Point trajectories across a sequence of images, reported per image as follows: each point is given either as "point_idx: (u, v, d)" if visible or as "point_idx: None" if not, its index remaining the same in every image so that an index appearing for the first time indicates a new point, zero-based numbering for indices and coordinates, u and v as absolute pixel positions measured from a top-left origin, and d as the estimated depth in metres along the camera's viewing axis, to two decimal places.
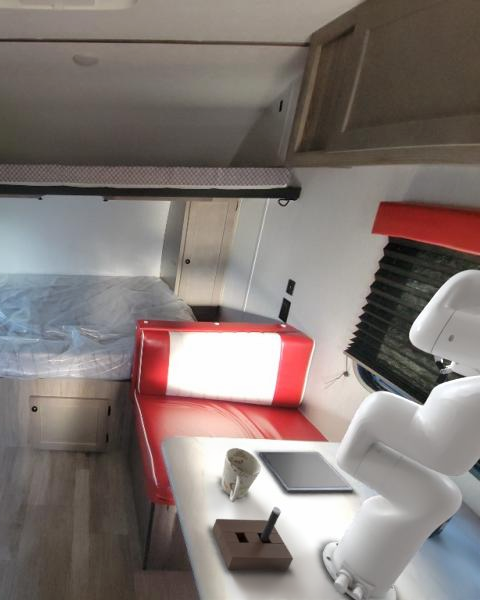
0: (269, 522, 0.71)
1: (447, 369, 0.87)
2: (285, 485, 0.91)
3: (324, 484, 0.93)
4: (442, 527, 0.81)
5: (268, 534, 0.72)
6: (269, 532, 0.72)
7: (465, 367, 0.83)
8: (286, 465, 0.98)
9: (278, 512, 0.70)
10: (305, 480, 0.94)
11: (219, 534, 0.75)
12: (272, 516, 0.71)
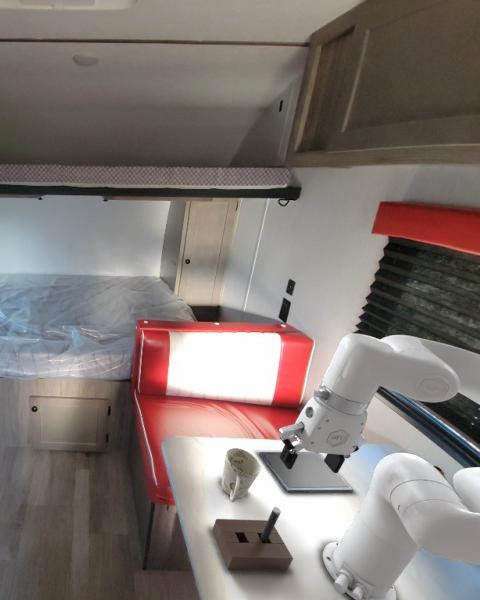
0: (269, 522, 0.71)
1: (297, 447, 0.65)
2: (285, 485, 0.91)
3: (324, 484, 0.93)
4: None
5: (268, 534, 0.72)
6: (269, 532, 0.72)
7: (320, 444, 0.63)
8: None
9: (278, 512, 0.70)
10: (305, 480, 0.94)
11: (219, 534, 0.75)
12: (272, 516, 0.71)
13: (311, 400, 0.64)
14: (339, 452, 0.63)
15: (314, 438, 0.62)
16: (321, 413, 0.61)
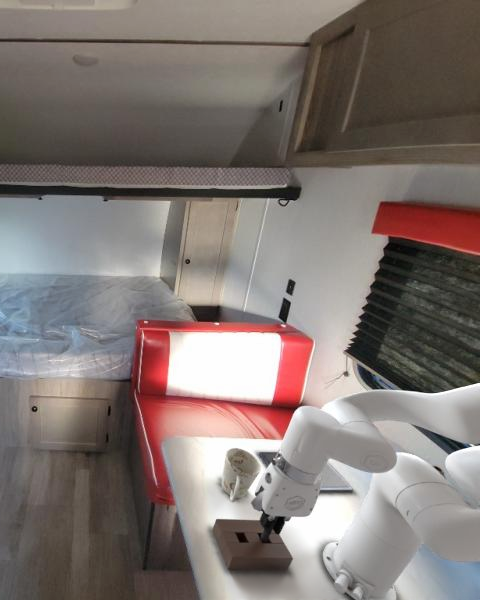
0: None
1: (271, 515, 0.69)
2: None
3: (324, 484, 0.93)
4: None
5: (268, 534, 0.72)
6: None
7: (279, 509, 0.66)
8: None
9: None
10: None
11: (219, 534, 0.75)
12: None
13: (270, 466, 0.67)
14: (297, 515, 0.67)
15: (273, 504, 0.66)
16: (278, 482, 0.65)
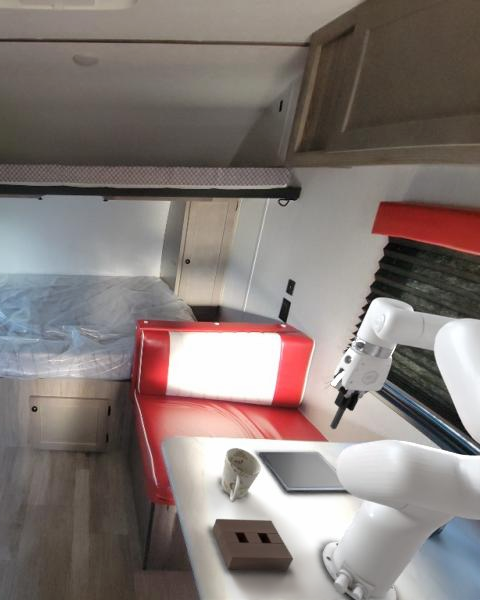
0: None
1: (348, 392, 0.85)
2: (285, 485, 0.91)
3: (324, 484, 0.93)
4: (442, 527, 0.81)
5: (342, 412, 0.89)
6: (343, 410, 0.88)
7: (357, 383, 0.82)
8: (286, 465, 0.98)
9: (352, 391, 0.86)
10: (305, 480, 0.94)
11: (219, 534, 0.75)
12: None
13: (349, 350, 0.83)
14: (371, 389, 0.83)
15: (352, 378, 0.82)
16: (358, 359, 0.81)
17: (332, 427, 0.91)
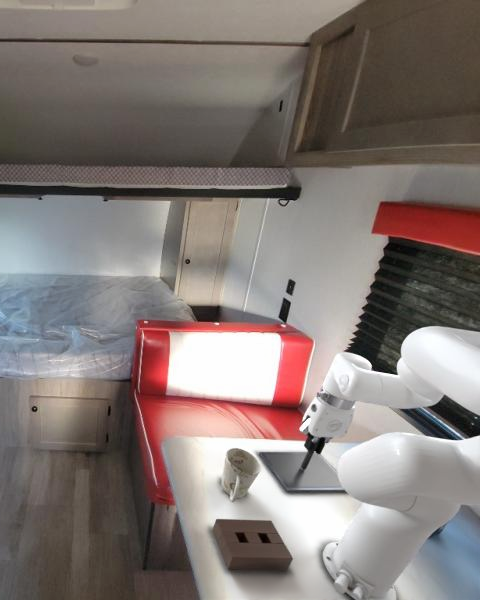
0: None
1: (315, 438, 0.91)
2: (285, 485, 0.91)
3: (324, 484, 0.93)
4: (442, 527, 0.81)
5: (311, 454, 0.94)
6: None
7: (322, 431, 0.88)
8: (286, 465, 0.98)
9: None
10: (305, 480, 0.94)
11: (219, 534, 0.75)
12: None
13: (315, 399, 0.89)
14: (335, 436, 0.89)
15: (318, 426, 0.88)
16: (322, 409, 0.87)
17: (302, 468, 0.97)
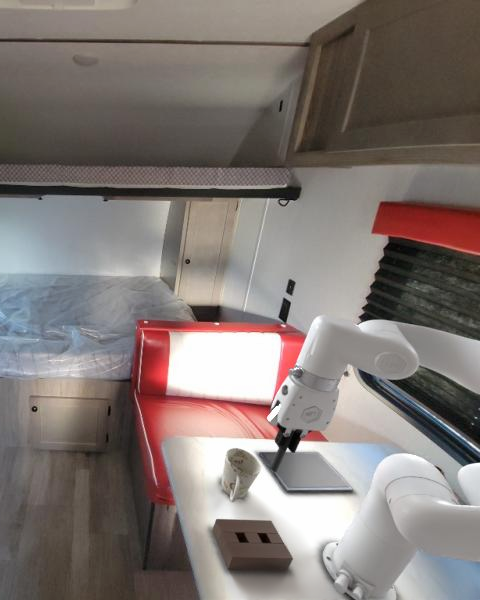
0: None
1: (287, 430, 0.69)
2: (285, 485, 0.91)
3: (324, 484, 0.93)
4: None
5: (283, 452, 0.72)
6: None
7: (295, 421, 0.66)
8: (286, 465, 0.98)
9: None
10: (305, 480, 0.94)
11: (219, 534, 0.75)
12: None
13: (287, 379, 0.67)
14: (314, 428, 0.67)
15: (289, 414, 0.66)
16: (295, 391, 0.65)
17: (272, 470, 0.75)
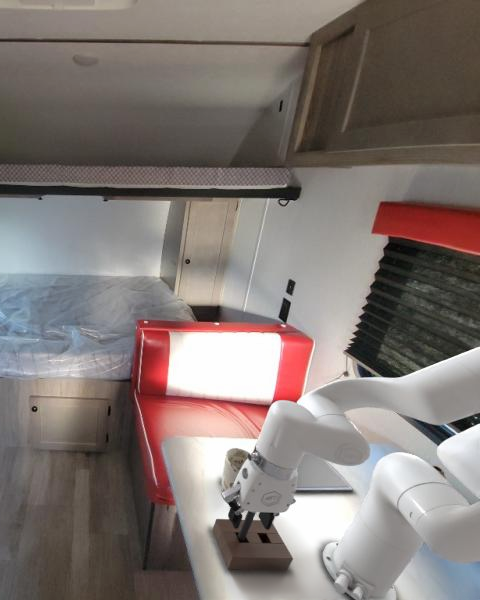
0: (246, 520, 0.71)
1: (240, 509, 0.68)
2: None
3: (324, 484, 0.93)
4: None
5: (245, 533, 0.72)
6: (246, 531, 0.72)
7: (255, 505, 0.66)
8: None
9: None
10: (305, 480, 0.94)
11: (219, 534, 0.75)
12: (248, 515, 0.71)
13: (247, 461, 0.67)
14: (274, 510, 0.66)
15: (249, 499, 0.65)
16: (254, 477, 0.64)
17: None
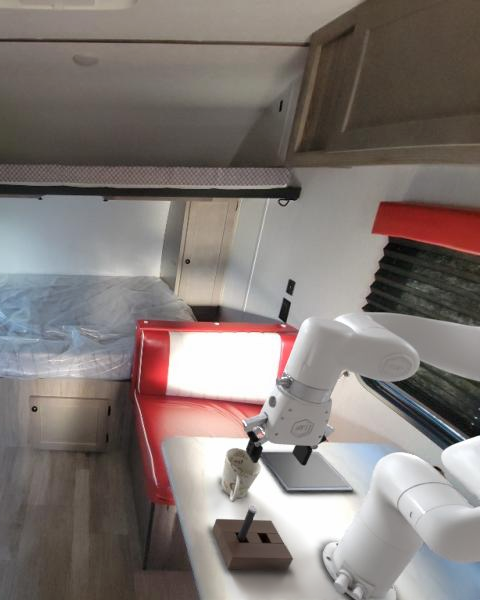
0: (246, 520, 0.71)
1: (262, 440, 0.61)
2: (285, 485, 0.91)
3: (324, 484, 0.93)
4: None
5: (245, 533, 0.72)
6: (246, 531, 0.72)
7: (284, 436, 0.59)
8: (286, 465, 0.98)
9: (254, 510, 0.70)
10: (305, 480, 0.94)
11: (219, 534, 0.75)
12: (248, 515, 0.71)
13: (274, 389, 0.60)
14: (305, 443, 0.60)
15: (278, 429, 0.59)
16: (284, 403, 0.57)
17: None
